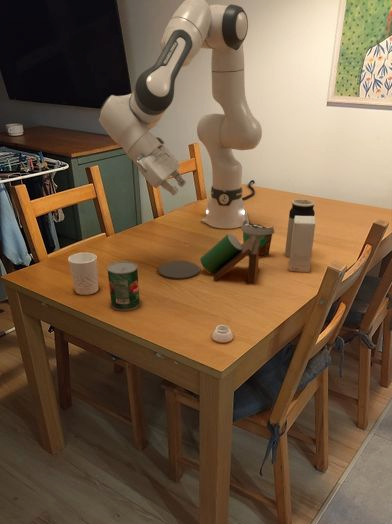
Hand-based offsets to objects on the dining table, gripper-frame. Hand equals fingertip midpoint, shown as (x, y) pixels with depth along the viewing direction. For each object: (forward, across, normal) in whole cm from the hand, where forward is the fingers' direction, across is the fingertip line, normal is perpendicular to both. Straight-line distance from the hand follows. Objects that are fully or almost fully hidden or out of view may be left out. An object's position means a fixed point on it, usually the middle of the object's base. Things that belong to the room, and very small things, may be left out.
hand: (180, 189), depth 134 cm
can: (+22, 0, +4) cm, 22 cm away
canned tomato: (+11, -26, +25) cm, 37 cm away
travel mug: (+43, +20, -7) cm, 48 cm away
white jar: (+32, -38, +4) cm, 50 cm away
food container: (+32, +18, +3) cm, 37 cm away
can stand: (+30, 0, +5) cm, 30 cm away
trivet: (+17, -1, +18) cm, 25 cm away
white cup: (+1, -20, +34) cm, 40 cm away
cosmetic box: (+44, +10, -8) cm, 45 cm away
